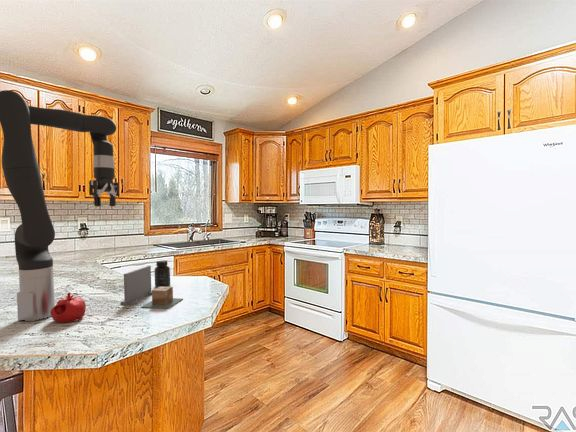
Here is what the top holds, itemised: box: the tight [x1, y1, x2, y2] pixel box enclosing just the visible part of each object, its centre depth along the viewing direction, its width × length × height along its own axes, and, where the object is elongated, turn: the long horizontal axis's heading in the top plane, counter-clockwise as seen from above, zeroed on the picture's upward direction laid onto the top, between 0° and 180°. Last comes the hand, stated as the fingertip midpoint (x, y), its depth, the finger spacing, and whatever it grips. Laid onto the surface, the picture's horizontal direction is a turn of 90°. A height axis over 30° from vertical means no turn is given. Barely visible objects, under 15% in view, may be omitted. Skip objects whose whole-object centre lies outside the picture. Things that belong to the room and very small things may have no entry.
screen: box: [120, 265, 152, 306], centre depth 127 cm, size 16×5×12 cm, turn 172°
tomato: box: [50, 292, 87, 324], centre depth 104 cm, size 10×10×9 cm
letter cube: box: [151, 286, 174, 305], centre depth 120 cm, size 6×6×6 cm
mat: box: [140, 297, 184, 310], centre depth 120 cm, size 11×11×1 cm
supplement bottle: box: [153, 259, 171, 289], centre depth 146 cm, size 7×7×12 cm
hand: (105, 206), depth 129 cm, fingers open, 8 cm apart
